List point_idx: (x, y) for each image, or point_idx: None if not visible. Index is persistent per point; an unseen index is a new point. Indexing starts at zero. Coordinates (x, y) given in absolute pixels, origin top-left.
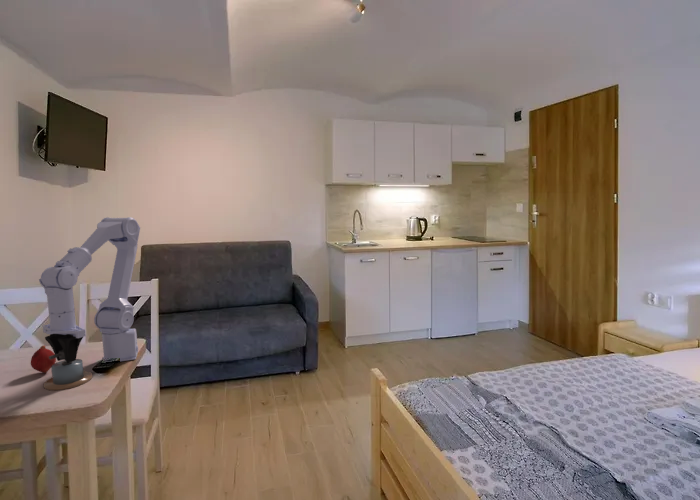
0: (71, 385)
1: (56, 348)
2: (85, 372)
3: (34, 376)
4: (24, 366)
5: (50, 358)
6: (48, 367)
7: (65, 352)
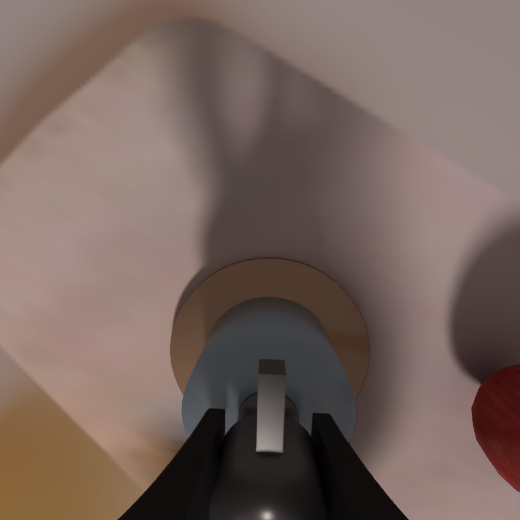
0: (181, 313)
1: (344, 513)
2: None
3: (499, 338)
4: None
5: (262, 363)
6: (474, 401)
7: (174, 474)
